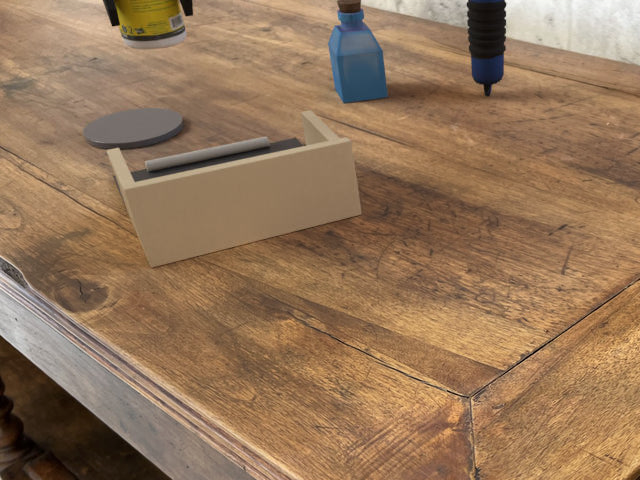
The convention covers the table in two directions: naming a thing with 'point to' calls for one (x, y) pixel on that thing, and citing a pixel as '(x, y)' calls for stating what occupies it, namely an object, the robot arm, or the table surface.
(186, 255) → the shallow cardboard crate
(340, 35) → the perfume bottle
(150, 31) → the pill bottle
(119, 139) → the trivet
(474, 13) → the blue black cylinder
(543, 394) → the table surface
